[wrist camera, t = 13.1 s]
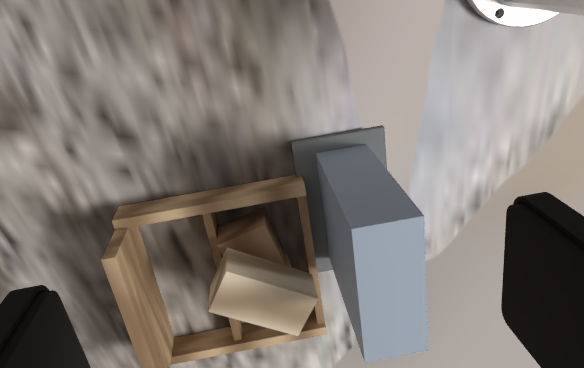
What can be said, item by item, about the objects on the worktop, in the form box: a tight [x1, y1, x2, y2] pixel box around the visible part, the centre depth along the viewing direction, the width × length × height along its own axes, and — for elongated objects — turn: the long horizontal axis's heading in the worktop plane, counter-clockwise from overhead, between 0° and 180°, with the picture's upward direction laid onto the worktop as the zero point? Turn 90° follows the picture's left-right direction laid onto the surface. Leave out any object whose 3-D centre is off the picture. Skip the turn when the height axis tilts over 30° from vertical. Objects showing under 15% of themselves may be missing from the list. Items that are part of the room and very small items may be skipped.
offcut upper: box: [208, 248, 318, 336], centre depth 44 cm, size 5×9×4 cm, turn 66°
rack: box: [101, 175, 327, 368], centre depth 46 cm, size 18×18×8 cm
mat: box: [291, 126, 387, 272], centre depth 48 cm, size 9×15×1 cm, turn 8°
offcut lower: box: [217, 208, 292, 268], centre depth 48 cm, size 5×11×4 cm, turn 22°
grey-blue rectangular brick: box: [316, 144, 428, 363], centre depth 40 cm, size 5×12×15 cm, turn 8°
